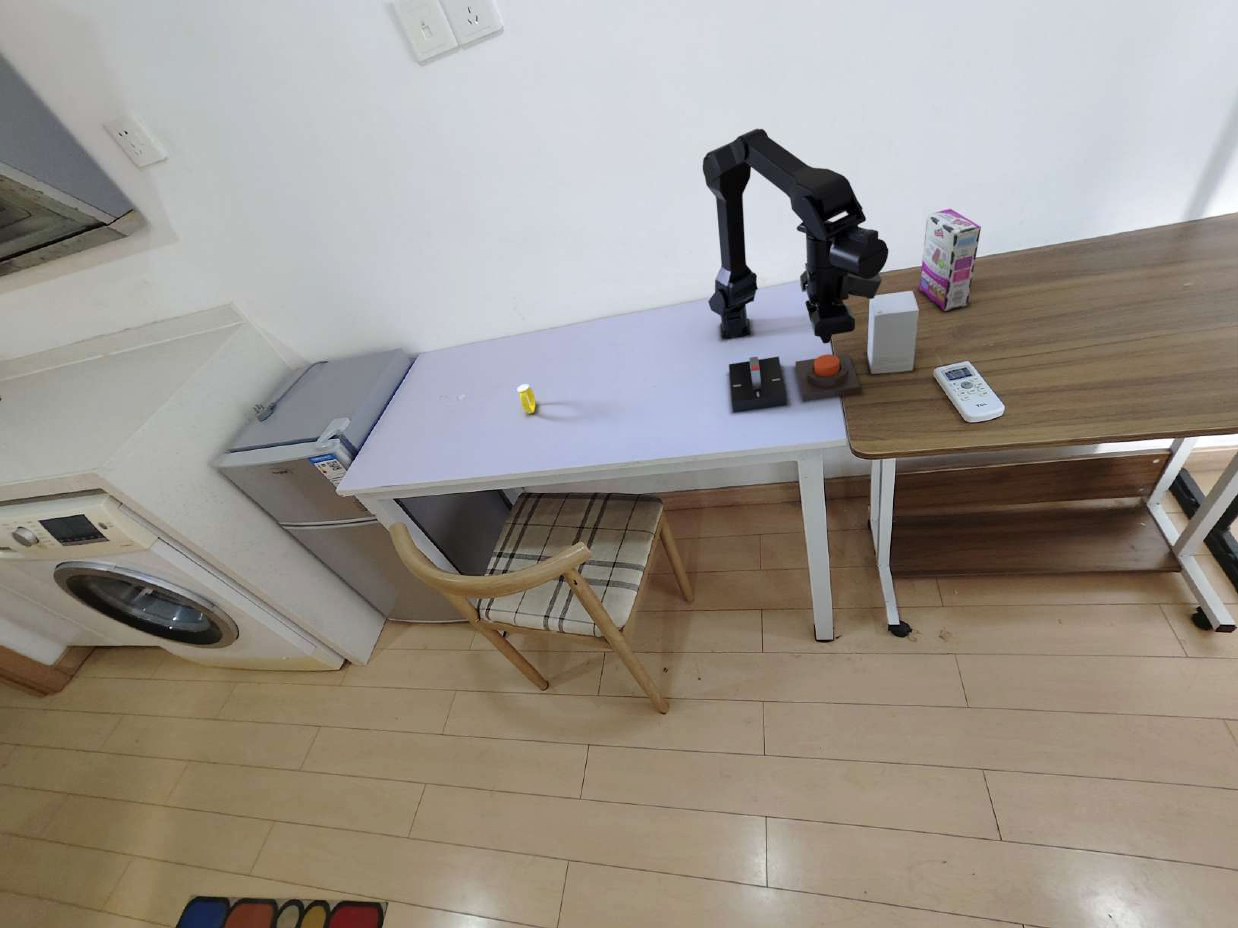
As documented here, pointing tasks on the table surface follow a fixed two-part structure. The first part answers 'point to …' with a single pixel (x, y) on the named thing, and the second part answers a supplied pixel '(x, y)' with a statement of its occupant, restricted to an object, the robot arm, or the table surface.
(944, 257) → the candy bar box
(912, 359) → the white packaging box
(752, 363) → the burner knob
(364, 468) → the table surface
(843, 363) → the brown button base
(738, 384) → the hob panel
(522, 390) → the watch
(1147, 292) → the table surface
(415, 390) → the table surface
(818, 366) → the button
